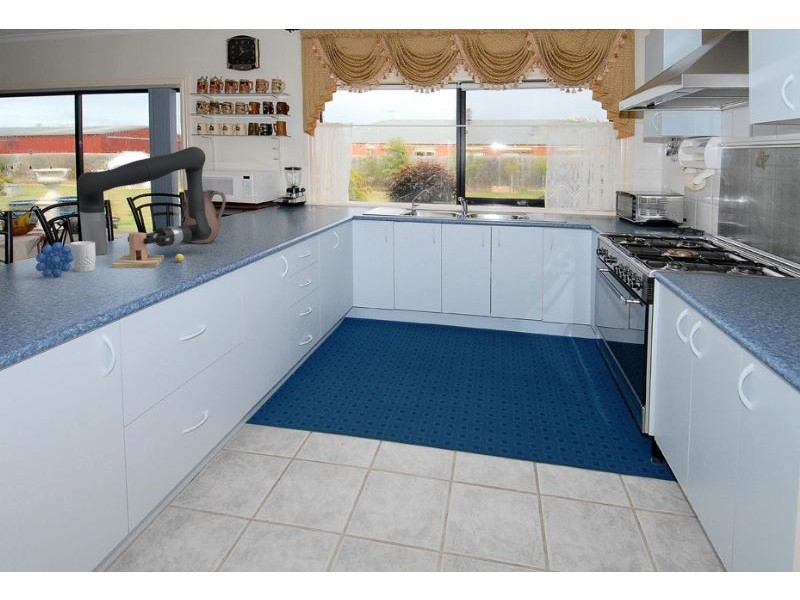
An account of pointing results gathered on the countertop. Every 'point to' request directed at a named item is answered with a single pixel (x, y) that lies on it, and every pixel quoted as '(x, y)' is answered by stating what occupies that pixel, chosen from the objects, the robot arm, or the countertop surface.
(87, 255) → the white cup
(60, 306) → the countertop surface
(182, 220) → the ceramic pitcher
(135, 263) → the oak board
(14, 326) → the countertop surface
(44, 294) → the countertop surface
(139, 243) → the salmon octagonal post
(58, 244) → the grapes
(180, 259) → the mustard ball
